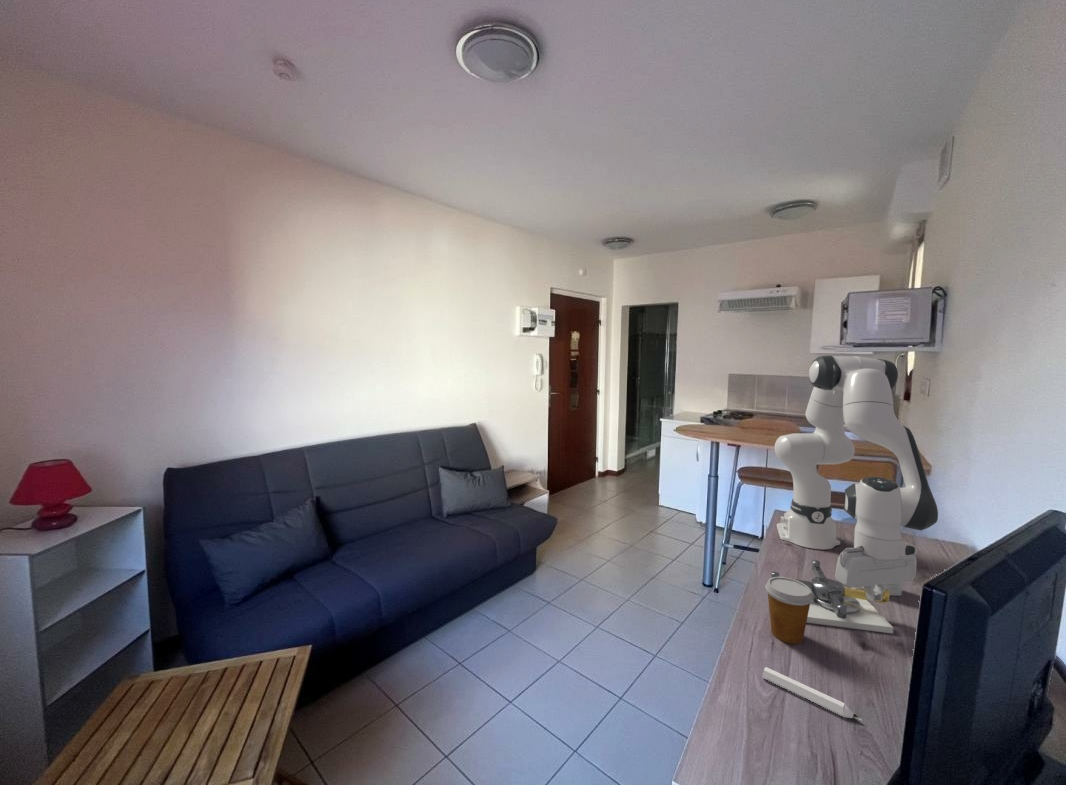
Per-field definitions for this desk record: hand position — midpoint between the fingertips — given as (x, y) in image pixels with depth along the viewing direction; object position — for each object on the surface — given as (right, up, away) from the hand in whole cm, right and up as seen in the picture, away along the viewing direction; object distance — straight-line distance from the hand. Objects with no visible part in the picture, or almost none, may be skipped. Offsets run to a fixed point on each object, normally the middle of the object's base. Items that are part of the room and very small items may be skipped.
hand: (873, 599), depth 105 cm
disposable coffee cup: (-25, -6, -5) cm, 26 cm away
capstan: (-8, -3, +6) cm, 10 cm away
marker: (-32, -8, -24) cm, 40 cm away
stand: (-7, -5, +6) cm, 11 cm away
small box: (+13, -5, +14) cm, 20 cm away
